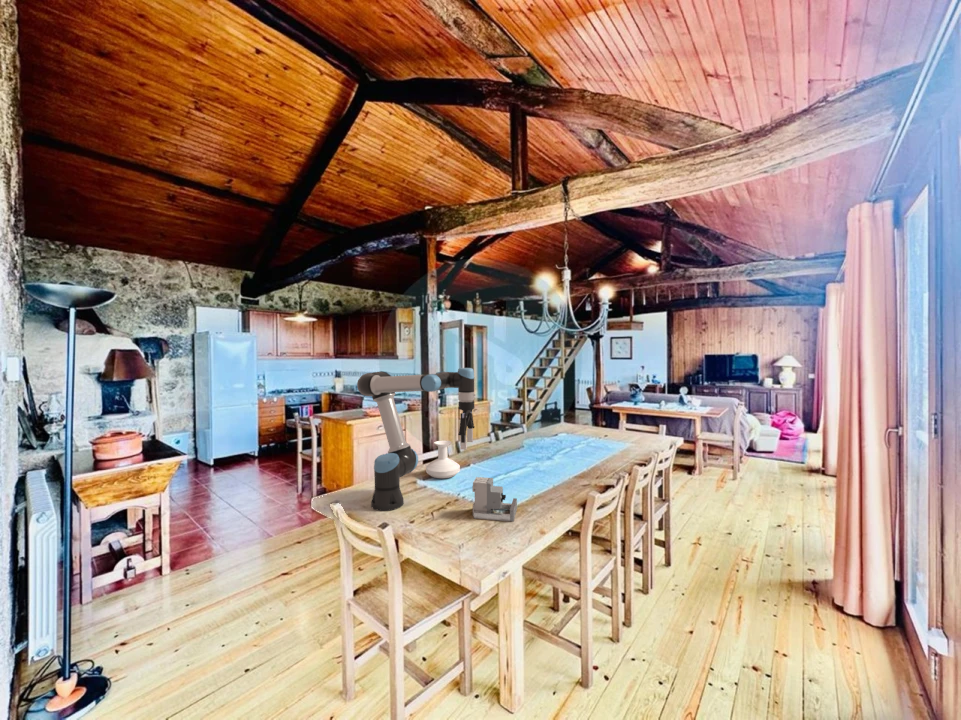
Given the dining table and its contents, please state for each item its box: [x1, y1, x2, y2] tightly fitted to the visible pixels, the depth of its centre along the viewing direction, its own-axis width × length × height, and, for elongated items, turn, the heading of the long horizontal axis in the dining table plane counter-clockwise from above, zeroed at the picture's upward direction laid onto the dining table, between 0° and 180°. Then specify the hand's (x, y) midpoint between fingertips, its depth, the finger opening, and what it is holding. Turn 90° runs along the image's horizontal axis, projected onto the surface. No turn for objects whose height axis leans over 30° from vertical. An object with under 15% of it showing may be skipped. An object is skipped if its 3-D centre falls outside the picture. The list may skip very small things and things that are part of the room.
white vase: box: [425, 439, 461, 479], centre depth 237 cm, size 20×20×19 cm
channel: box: [473, 497, 518, 522], centre depth 184 cm, size 18×13×5 cm
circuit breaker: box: [472, 476, 507, 517], centre depth 184 cm, size 8×14×15 cm, turn 79°
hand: (466, 445), depth 192 cm, fingers open, 13 cm apart
